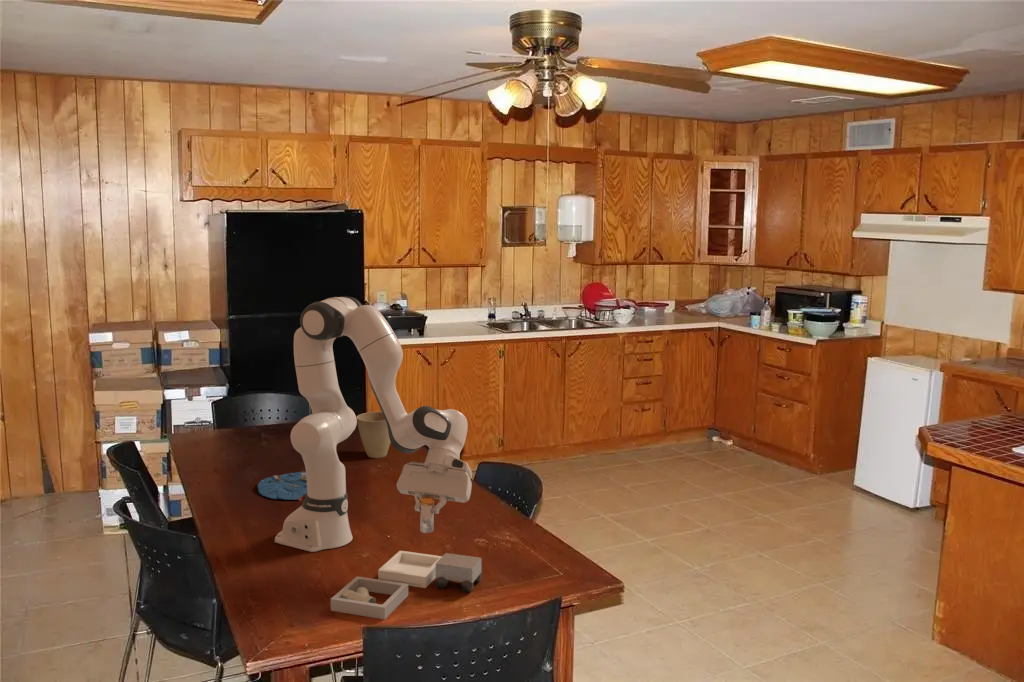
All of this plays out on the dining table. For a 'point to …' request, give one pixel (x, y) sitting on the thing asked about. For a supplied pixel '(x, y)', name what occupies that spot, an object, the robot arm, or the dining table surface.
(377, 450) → the plant pot
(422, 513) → the jar with orange lid
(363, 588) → the pipe fitting
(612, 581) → the dining table surface
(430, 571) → the tray
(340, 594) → the parts bin
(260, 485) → the decorative plate
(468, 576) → the wheeled grey cart
